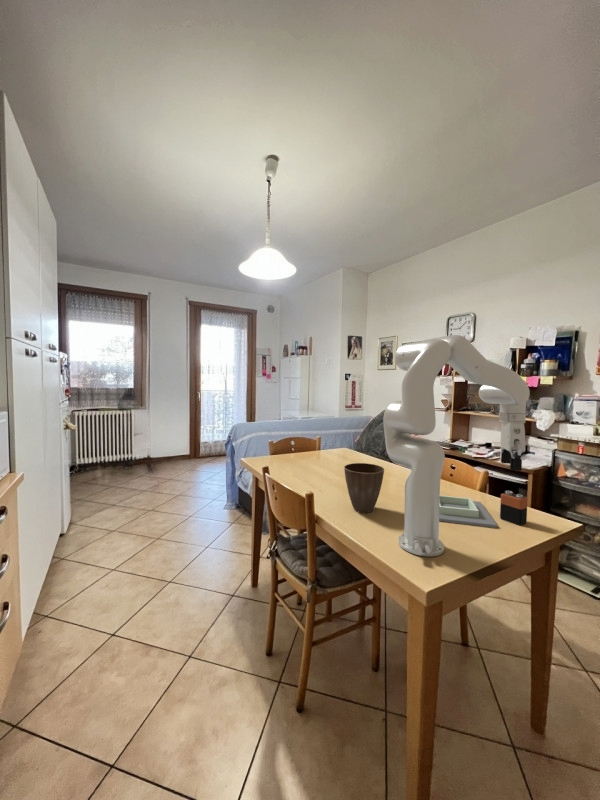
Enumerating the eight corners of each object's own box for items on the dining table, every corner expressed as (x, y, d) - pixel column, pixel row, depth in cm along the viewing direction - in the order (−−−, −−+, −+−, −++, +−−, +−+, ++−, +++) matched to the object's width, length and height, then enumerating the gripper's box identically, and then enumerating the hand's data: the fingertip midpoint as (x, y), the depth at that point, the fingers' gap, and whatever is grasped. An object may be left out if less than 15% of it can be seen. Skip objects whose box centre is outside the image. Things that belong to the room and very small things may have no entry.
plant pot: (347, 499, 130) (348, 461, 129) (385, 504, 125) (385, 464, 124) (340, 513, 116) (340, 470, 115) (381, 519, 111) (382, 474, 110)
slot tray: (497, 528, 104) (497, 517, 104) (425, 519, 111) (426, 509, 111) (480, 504, 125) (480, 495, 125) (421, 498, 132) (421, 490, 132)
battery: (505, 516, 114) (506, 489, 114) (527, 523, 108) (528, 494, 108) (499, 518, 112) (500, 491, 111) (520, 526, 106) (521, 497, 106)
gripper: (535, 421, 100) (533, 474, 101) (515, 415, 116) (514, 461, 117) (508, 420, 102) (506, 472, 103) (492, 415, 119) (491, 460, 120)
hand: (510, 466), depth 110 cm, fingers open, 9 cm apart
